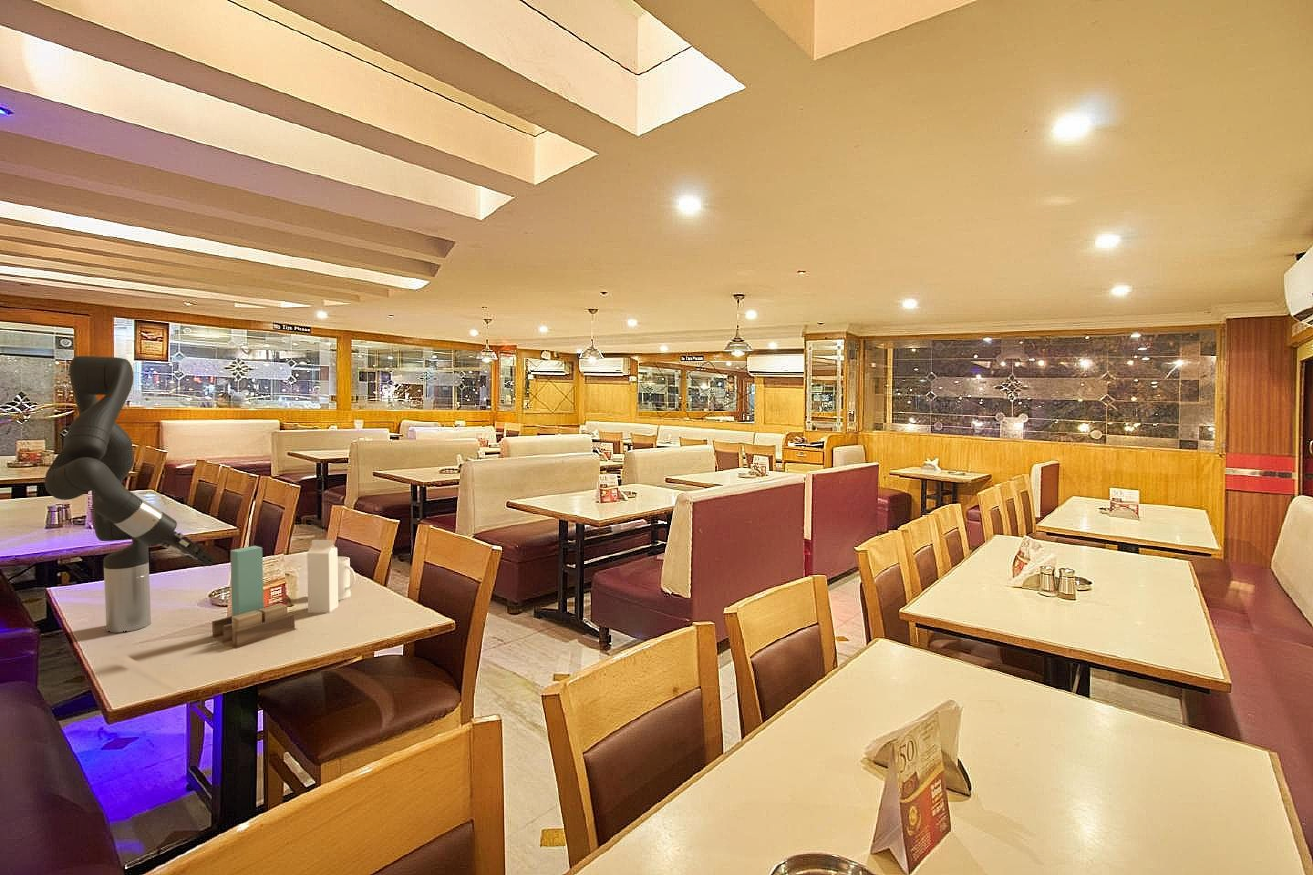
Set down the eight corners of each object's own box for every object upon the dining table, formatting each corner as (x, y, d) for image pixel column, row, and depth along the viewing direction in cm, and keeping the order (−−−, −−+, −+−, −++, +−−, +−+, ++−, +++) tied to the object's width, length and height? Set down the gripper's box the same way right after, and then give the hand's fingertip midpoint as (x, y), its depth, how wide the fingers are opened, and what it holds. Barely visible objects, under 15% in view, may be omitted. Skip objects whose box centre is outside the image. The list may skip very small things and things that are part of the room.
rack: (210, 642, 158) (209, 621, 157) (270, 624, 171) (270, 604, 170) (236, 654, 151) (235, 632, 151) (297, 634, 164) (297, 614, 164)
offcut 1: (232, 641, 155) (231, 616, 154) (256, 634, 160) (255, 610, 159) (238, 644, 153) (238, 619, 153) (262, 637, 158) (261, 612, 158)
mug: (364, 596, 195) (364, 559, 194) (341, 604, 187) (341, 566, 186) (337, 590, 200) (337, 554, 199) (314, 598, 192) (313, 561, 191)
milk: (317, 610, 182) (316, 537, 181) (338, 610, 183) (337, 537, 181) (307, 617, 176) (306, 542, 175) (329, 617, 177) (328, 542, 175)
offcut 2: (259, 633, 160) (258, 609, 160) (281, 626, 165) (280, 603, 165) (265, 636, 159) (265, 611, 158) (287, 629, 164) (287, 605, 163)
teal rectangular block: (232, 632, 161) (230, 550, 159) (256, 625, 166) (255, 545, 164) (239, 635, 159) (237, 552, 157) (264, 628, 164) (262, 547, 162)
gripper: (173, 513, 140) (229, 551, 151) (145, 506, 147) (201, 543, 158) (145, 540, 136) (206, 578, 147) (118, 531, 143) (177, 568, 154)
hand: (203, 560), depth 152 cm, fingers open, 8 cm apart
